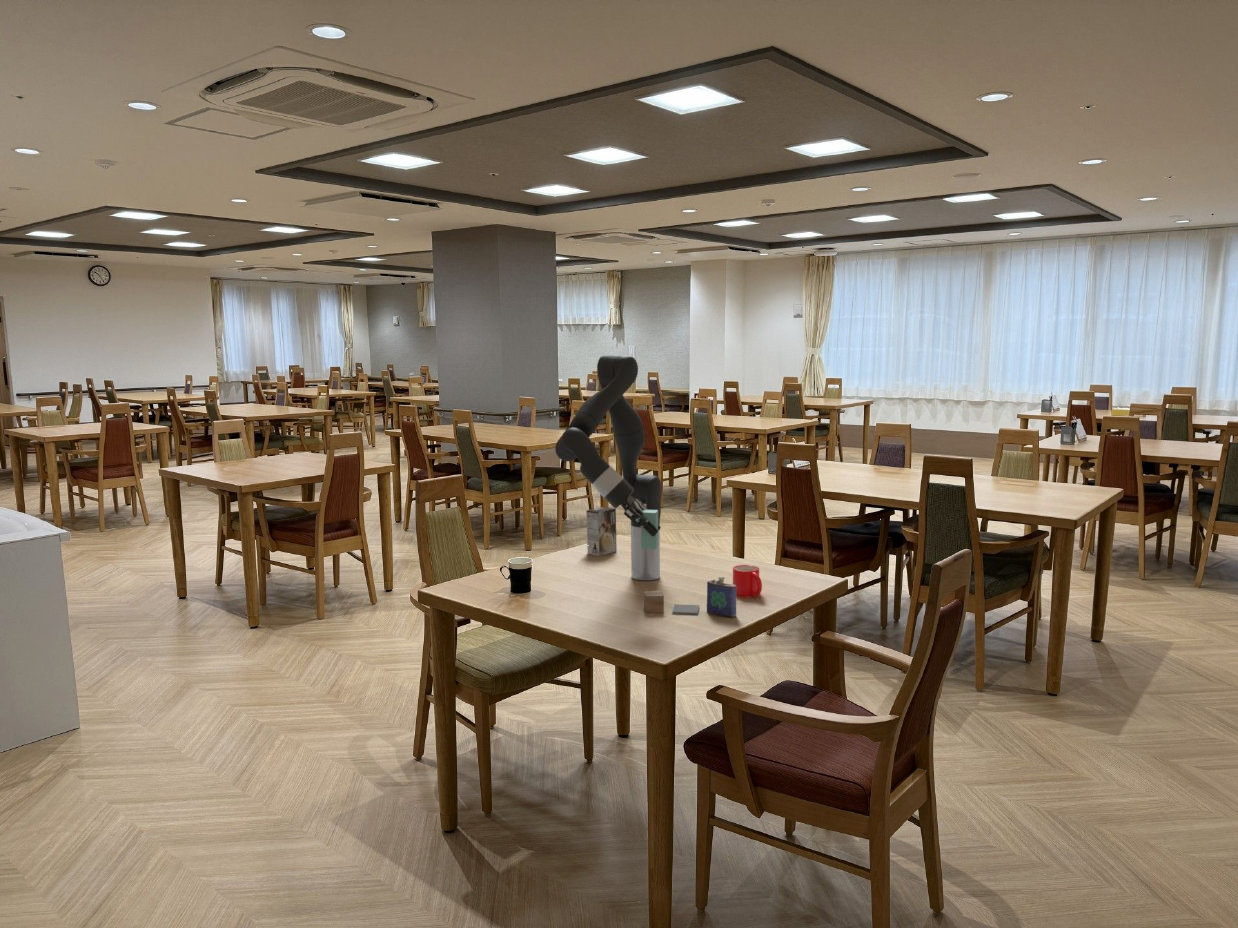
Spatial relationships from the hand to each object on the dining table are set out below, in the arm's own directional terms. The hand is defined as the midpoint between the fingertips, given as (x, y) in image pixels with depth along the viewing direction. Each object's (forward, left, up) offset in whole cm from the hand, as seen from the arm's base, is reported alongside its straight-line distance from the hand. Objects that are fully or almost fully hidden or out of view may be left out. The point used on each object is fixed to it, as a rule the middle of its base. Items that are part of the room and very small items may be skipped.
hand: (656, 532), depth 236 cm
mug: (-25, +24, -24) cm, 42 cm away
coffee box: (-70, -31, -24) cm, 80 cm away
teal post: (0, -2, -4) cm, 5 cm away
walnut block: (-6, -2, -24) cm, 25 cm away
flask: (-5, +17, -24) cm, 30 cm away
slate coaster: (-7, +7, -25) cm, 26 cm away
